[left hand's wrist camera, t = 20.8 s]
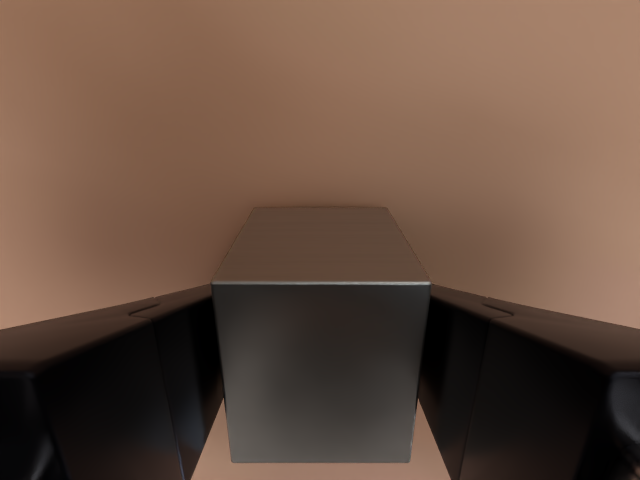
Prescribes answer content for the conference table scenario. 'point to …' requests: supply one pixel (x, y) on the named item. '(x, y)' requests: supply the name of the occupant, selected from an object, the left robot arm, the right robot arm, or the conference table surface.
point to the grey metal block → (320, 336)
